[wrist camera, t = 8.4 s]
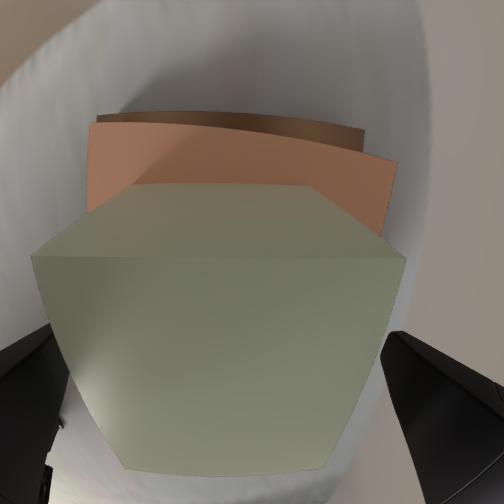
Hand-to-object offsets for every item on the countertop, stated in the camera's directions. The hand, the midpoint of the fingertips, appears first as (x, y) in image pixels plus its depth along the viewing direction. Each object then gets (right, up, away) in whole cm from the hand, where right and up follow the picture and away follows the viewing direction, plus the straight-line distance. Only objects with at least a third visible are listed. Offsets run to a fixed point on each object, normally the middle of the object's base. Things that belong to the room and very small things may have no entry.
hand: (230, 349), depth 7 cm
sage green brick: (-1, +2, +4) cm, 4 cm away
